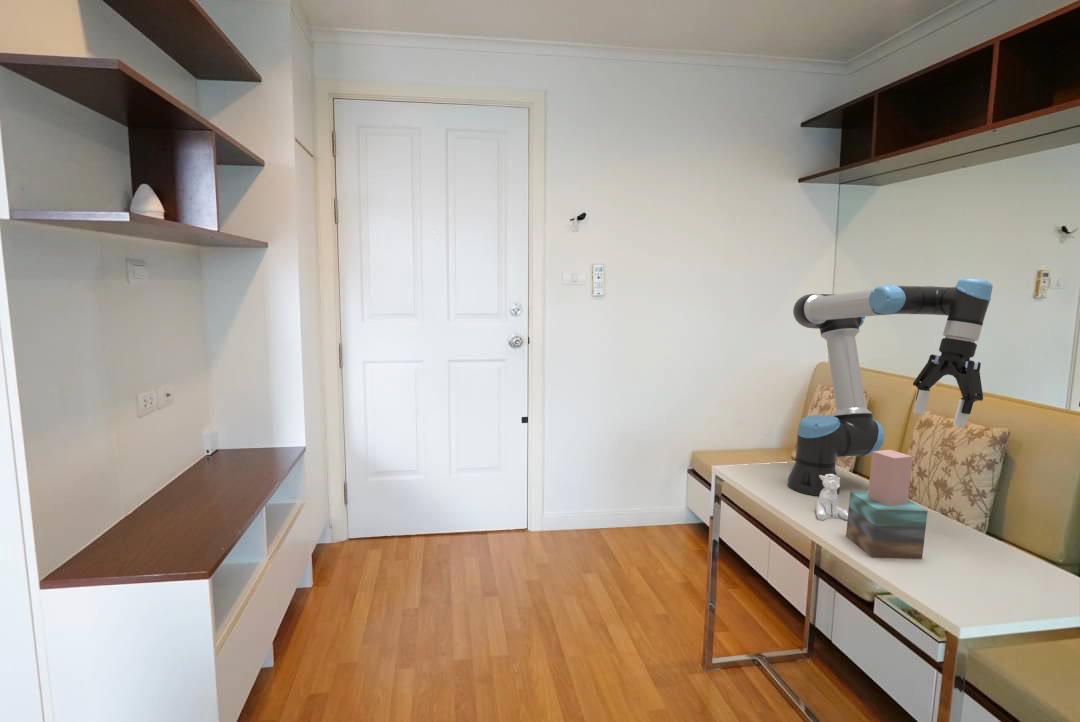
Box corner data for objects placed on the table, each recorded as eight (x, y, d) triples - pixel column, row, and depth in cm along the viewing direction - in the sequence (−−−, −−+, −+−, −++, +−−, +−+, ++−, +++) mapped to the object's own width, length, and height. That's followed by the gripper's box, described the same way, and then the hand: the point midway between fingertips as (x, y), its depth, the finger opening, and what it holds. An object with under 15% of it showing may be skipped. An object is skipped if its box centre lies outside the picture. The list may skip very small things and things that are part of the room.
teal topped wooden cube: (846, 535, 149) (850, 491, 148) (892, 537, 149) (896, 492, 148) (871, 557, 138) (877, 509, 136) (922, 558, 137) (927, 510, 136)
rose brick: (867, 497, 144) (872, 451, 142) (885, 495, 146) (890, 449, 144) (889, 506, 138) (894, 458, 137) (907, 503, 140) (912, 456, 139)
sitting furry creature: (818, 520, 159) (822, 479, 157) (803, 508, 168) (807, 469, 166) (852, 521, 159) (856, 479, 158) (836, 509, 168) (839, 469, 166)
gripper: (1016, 347, 135) (991, 434, 137) (935, 338, 159) (915, 411, 162) (988, 341, 134) (963, 428, 136) (911, 333, 159) (891, 407, 161)
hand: (937, 419), depth 149 cm, fingers open, 13 cm apart
